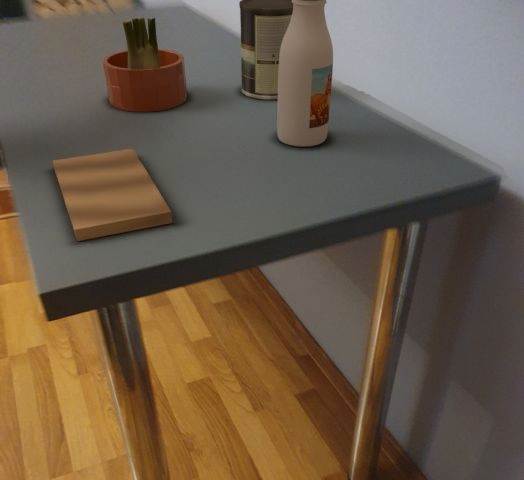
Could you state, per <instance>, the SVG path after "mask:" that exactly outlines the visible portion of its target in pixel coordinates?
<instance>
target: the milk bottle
mask: <svg viewBox="0 0 524 480" xmlns="http://www.w3.org/2000/svg"><path fill="white" fill-rule="evenodd" d="M292 3H293V13H292V17H291V20H290V23H289V26H288V28H287V31H286V33H285V35H284V38H283V41H282V44H281V48H280V55H279V69H278V99H277V104H276V105H277V106H276V136H277V138H278V140H279V142H282V143H283V144H286V145H288V146H293V147H314V146H318V145H320V144H323V143H324V142H325V141H326V140H327V137H328V133H329V132H328V131H329V120H330V108H331V98H332V97H331V96H332V84H333V83H332V82H333V69H334V49H333V48H334V47H333V42H332V38H331V34H330V32H329V29H328V25H327V20H326V14H325V6H326V4H327V3H328V2H327V0H292Z"/></svg>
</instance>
